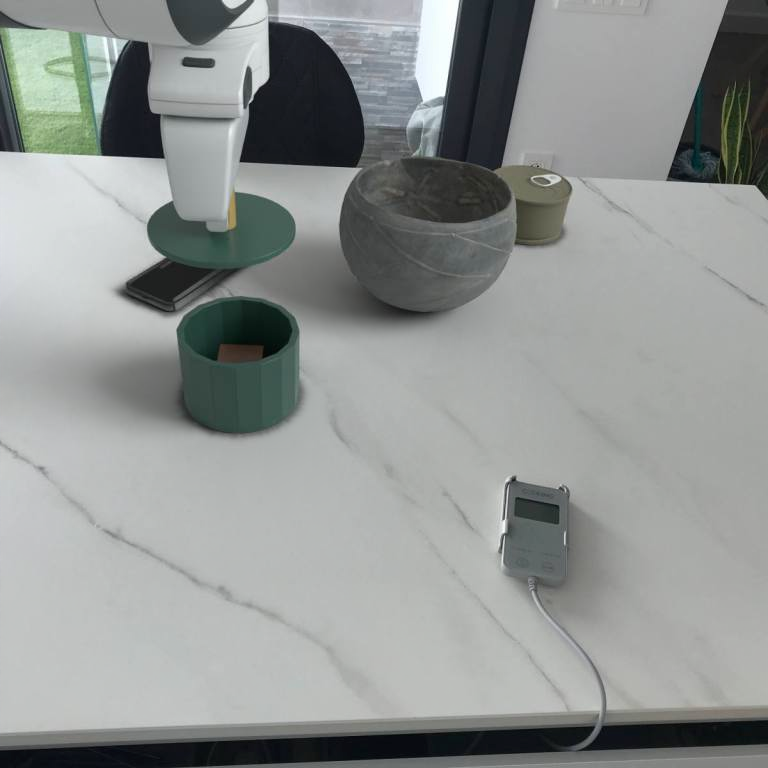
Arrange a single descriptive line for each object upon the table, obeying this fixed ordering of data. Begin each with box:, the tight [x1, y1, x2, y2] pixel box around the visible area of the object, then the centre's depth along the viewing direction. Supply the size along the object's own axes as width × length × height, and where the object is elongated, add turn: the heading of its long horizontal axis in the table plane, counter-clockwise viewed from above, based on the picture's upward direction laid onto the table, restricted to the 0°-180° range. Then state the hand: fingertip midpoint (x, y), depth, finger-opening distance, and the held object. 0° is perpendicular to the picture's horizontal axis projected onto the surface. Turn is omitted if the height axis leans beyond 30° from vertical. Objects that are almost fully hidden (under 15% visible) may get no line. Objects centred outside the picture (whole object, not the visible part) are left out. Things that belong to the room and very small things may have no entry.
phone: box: [125, 257, 239, 312], centre depth 98 cm, size 8×1×15 cm
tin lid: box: [146, 186, 297, 269], centre depth 67 cm, size 13×13×5 cm
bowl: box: [338, 155, 517, 313], centre depth 95 cm, size 21×21×15 cm
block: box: [217, 344, 264, 364], centre depth 80 cm, size 4×4×4 cm
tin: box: [175, 295, 301, 434], centre depth 79 cm, size 12×12×8 cm
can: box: [492, 164, 573, 246], centre depth 114 cm, size 12×12×7 cm
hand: (220, 217), depth 67 cm, fingers closed on tin lid, 2 cm apart
